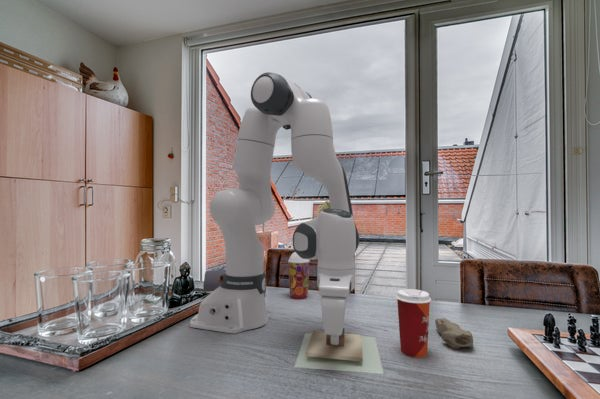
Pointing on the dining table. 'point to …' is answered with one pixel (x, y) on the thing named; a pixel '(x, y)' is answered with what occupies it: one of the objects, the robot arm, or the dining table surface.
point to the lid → (335, 346)
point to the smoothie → (298, 276)
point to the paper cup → (413, 321)
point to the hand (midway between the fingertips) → (335, 339)
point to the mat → (367, 366)
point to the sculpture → (453, 334)
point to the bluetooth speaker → (212, 279)
